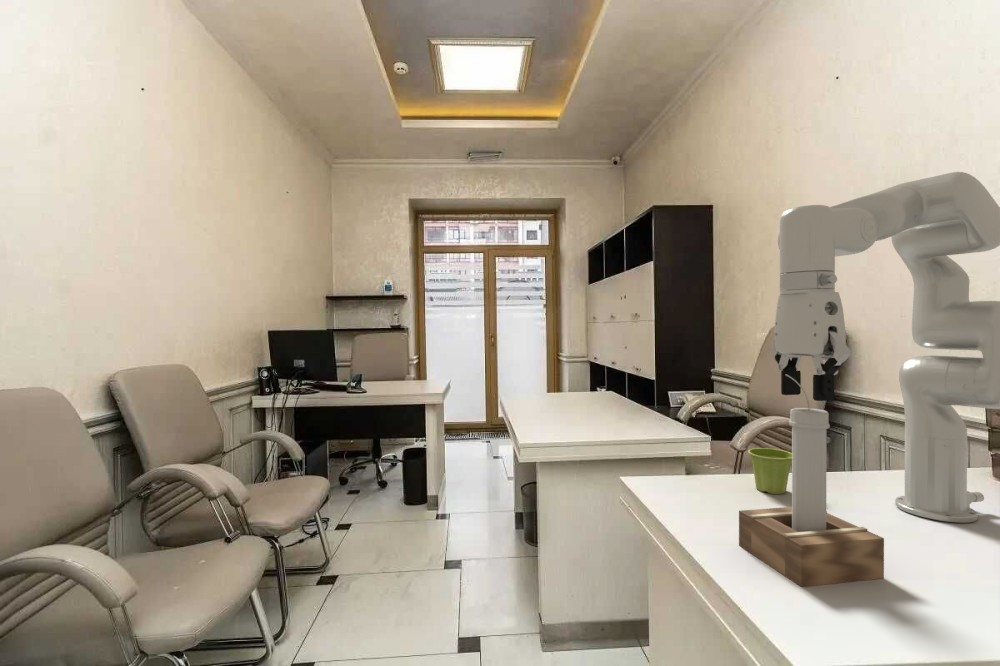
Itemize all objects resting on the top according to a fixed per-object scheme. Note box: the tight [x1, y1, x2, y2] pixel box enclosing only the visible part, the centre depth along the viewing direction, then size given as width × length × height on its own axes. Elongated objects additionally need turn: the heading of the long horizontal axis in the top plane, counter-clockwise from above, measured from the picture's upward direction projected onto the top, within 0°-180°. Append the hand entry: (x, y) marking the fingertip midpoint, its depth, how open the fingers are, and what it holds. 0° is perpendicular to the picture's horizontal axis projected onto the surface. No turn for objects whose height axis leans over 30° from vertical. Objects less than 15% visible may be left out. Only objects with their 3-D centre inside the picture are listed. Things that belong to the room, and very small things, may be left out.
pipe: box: [786, 374, 831, 532], centre depth 80 cm, size 6×6×30 cm
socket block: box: [738, 506, 885, 588], centre depth 80 cm, size 14×14×6 cm
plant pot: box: [747, 447, 792, 495], centre depth 115 cm, size 9×9×9 cm
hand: (806, 396), depth 80 cm, fingers open, 6 cm apart
